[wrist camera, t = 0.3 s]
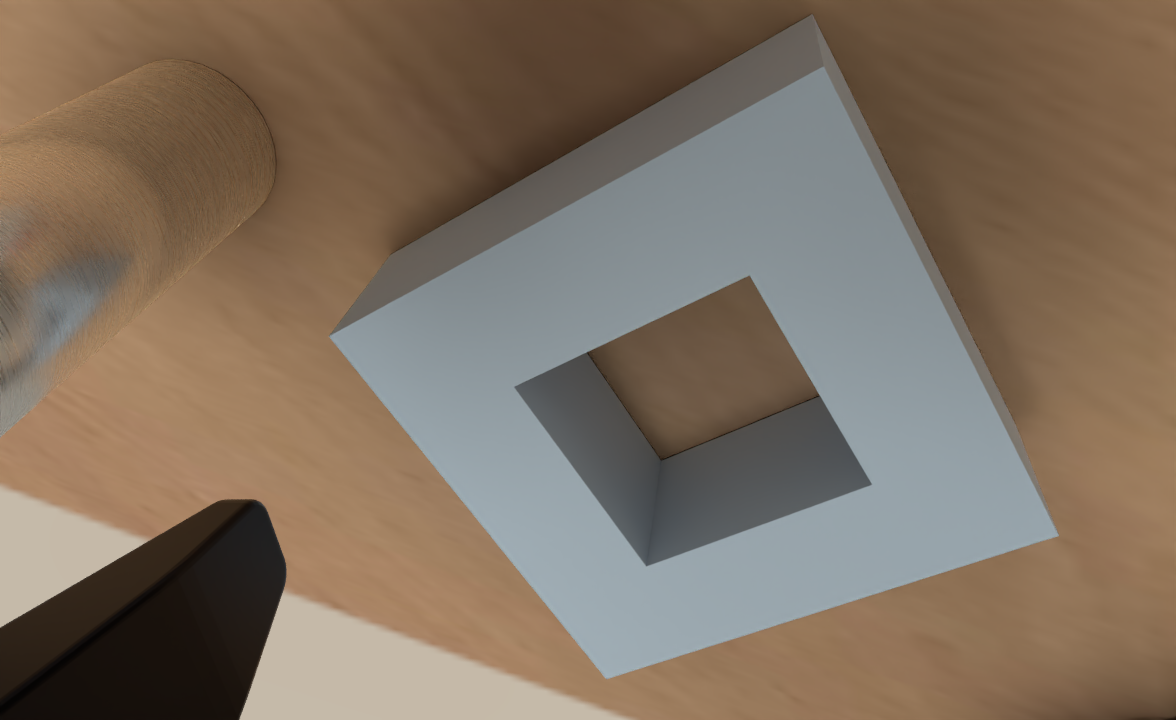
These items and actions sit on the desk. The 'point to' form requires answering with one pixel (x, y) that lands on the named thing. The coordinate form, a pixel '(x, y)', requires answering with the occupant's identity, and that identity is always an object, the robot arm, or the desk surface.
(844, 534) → the bracket block
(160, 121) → the silver tall cylinder
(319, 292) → the desk surface
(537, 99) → the desk surface
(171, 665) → the robot arm
